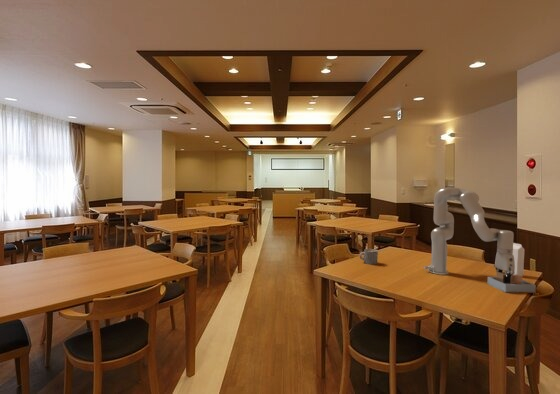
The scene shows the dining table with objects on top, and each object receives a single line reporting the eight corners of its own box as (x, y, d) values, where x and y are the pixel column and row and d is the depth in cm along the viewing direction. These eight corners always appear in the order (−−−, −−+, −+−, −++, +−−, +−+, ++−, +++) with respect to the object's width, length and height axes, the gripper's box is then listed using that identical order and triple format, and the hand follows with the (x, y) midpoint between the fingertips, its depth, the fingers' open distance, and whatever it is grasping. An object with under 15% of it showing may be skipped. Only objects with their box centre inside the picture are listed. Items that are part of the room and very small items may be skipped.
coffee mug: (377, 261, 236) (377, 249, 235) (377, 265, 227) (377, 252, 226) (359, 260, 240) (360, 248, 240) (359, 263, 231) (359, 250, 230)
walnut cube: (502, 283, 177) (503, 274, 177) (496, 280, 182) (496, 272, 182) (510, 283, 177) (511, 274, 177) (504, 280, 182) (504, 272, 182)
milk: (516, 277, 201) (518, 244, 200) (507, 274, 207) (509, 242, 206) (523, 276, 203) (525, 244, 202) (514, 273, 209) (515, 242, 208)
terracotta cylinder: (523, 288, 177) (524, 277, 176) (513, 288, 178) (514, 276, 177) (518, 285, 182) (519, 274, 181) (508, 285, 183) (509, 273, 182)
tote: (505, 292, 172) (505, 284, 172) (487, 283, 187) (487, 276, 187) (535, 292, 173) (535, 285, 172) (515, 284, 187) (515, 277, 187)
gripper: (522, 254, 170) (521, 286, 171) (500, 248, 187) (498, 276, 188) (509, 254, 170) (508, 286, 171) (488, 248, 187) (487, 276, 188)
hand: (503, 280), depth 179 cm, fingers closed on walnut cube, 5 cm apart
